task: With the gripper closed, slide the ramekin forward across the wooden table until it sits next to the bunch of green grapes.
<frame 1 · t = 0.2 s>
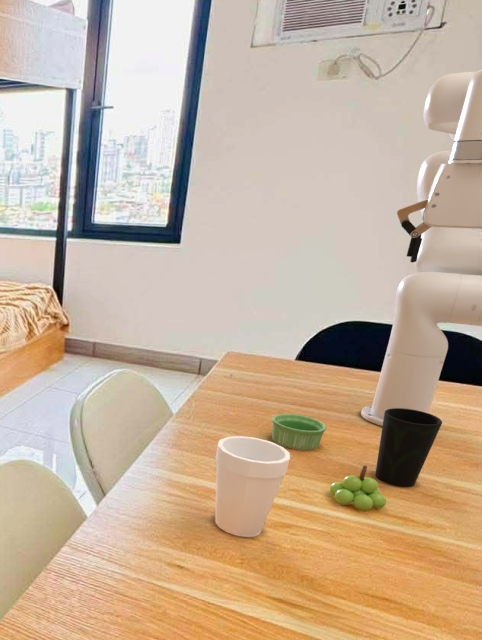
hand: (449, 263, 104), 36 cm above the table, tool pointing down, fingers open, 9 cm apart
grapes: (355, 502, 103), on the table
ramekin: (294, 443, 125), on the table
cup: (394, 480, 110), on the table
foam cup: (237, 526, 97), on the table
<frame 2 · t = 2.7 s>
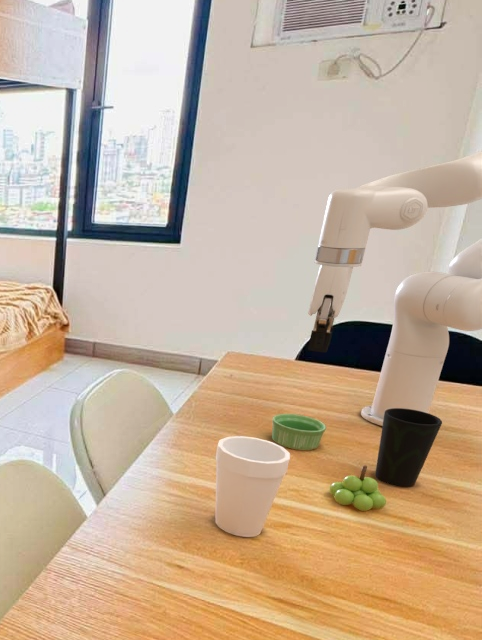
hand: (318, 347, 126), 17 cm above the table, tool pointing down, fingers open, 4 cm apart
nothing on the table moved.
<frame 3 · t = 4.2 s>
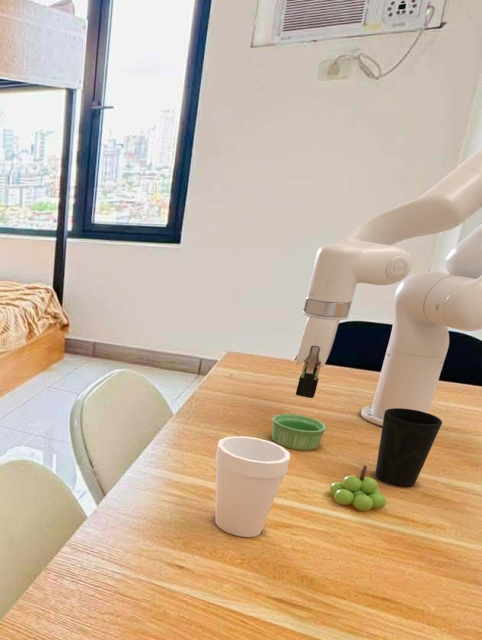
hand: (304, 395, 130), 7 cm above the table, tool pointing down, fingers closed
nothing on the table moved.
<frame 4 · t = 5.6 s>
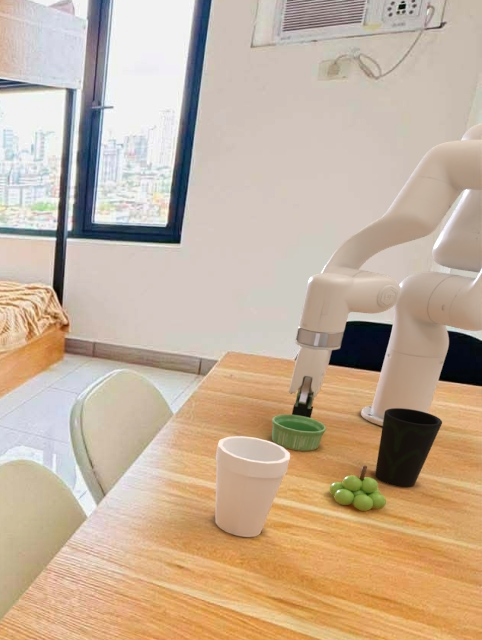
hand: (299, 423, 129), 2 cm above the table, tool pointing down, fingers closed
ramekin: (294, 444, 124), on the table, touching gripper
everything else where it was.
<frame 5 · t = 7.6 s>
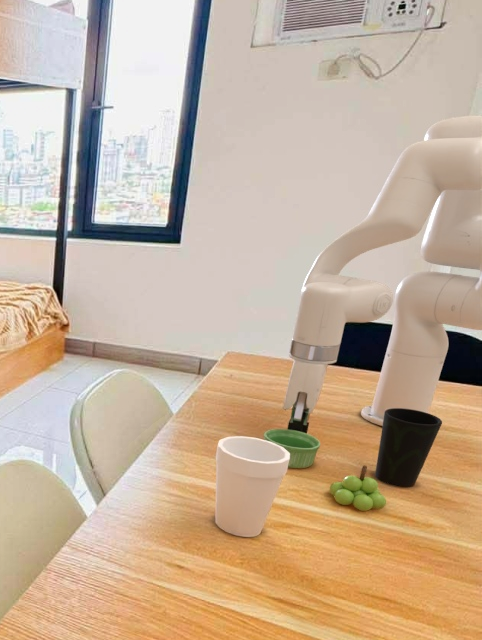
hand: (295, 440, 122), 1 cm above the table, tool pointing down, fingers closed
ramekin: (287, 460, 118), on the table, touching gripper
everything else where it was.
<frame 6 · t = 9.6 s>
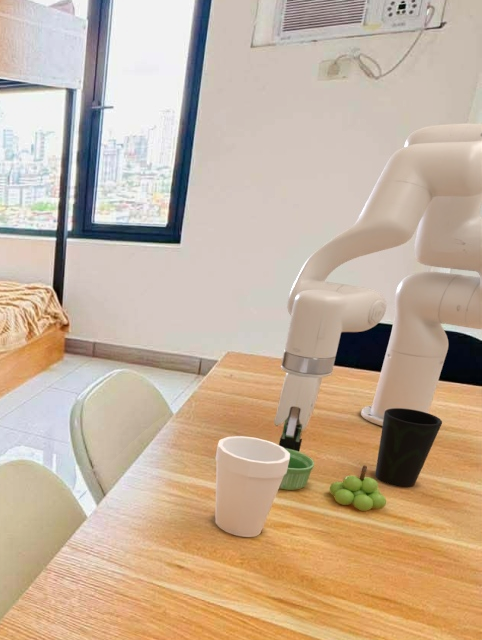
hand: (287, 457, 115), 2 cm above the table, tool pointing down, fingers closed
ramekin: (279, 480, 110), on the table, touching gripper
everything else where it was.
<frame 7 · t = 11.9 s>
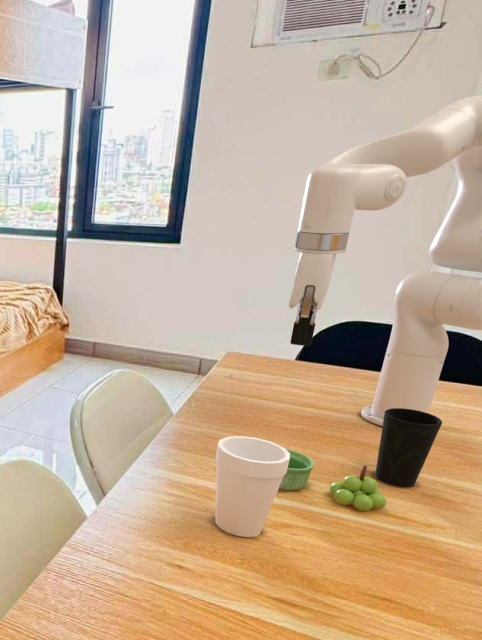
hand: (300, 343, 115), 21 cm above the table, tool pointing down, fingers closed
ramekin: (278, 481, 110), on the table
everything else where it was.
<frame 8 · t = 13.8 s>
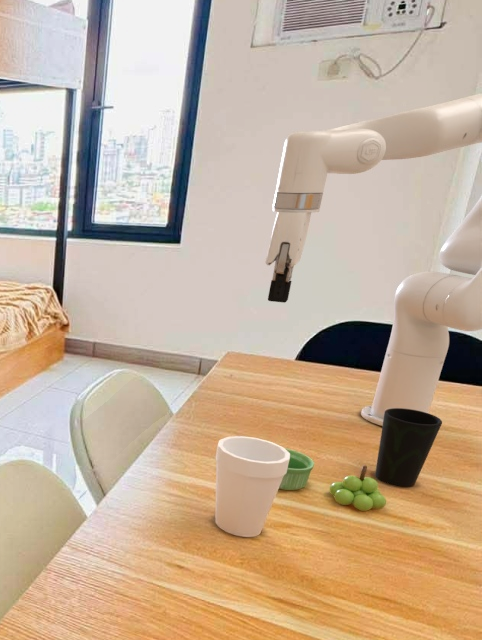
hand: (277, 300, 122), 27 cm above the table, tool pointing down, fingers closed
nothing on the table moved.
at the end: ramekin inside the target area (0.6 cm from its centre), on the table; ramekin 11.2 cm from the grapes (horizontally); ramekin tilted 0° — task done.
